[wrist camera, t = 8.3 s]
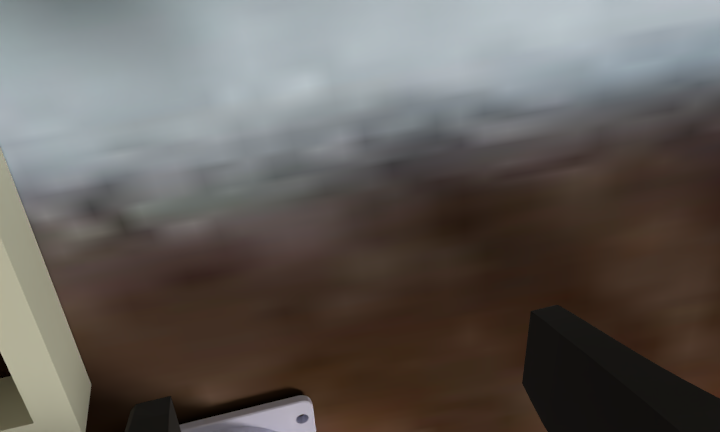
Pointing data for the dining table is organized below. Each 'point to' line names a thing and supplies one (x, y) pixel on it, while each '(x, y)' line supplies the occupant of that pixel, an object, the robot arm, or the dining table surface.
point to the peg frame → (34, 333)
